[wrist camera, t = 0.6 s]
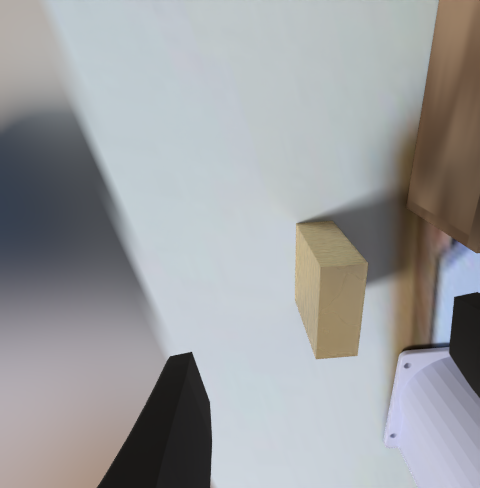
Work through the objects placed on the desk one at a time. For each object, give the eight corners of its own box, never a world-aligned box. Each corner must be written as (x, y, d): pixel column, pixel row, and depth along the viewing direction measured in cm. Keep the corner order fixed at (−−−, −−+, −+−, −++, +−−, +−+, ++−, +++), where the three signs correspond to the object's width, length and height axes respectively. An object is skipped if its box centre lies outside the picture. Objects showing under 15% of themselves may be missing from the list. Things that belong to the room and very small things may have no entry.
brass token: (327, 296, 21) (357, 355, 16) (294, 299, 21) (315, 358, 16) (332, 220, 19) (368, 263, 14) (296, 223, 19) (320, 267, 14)
